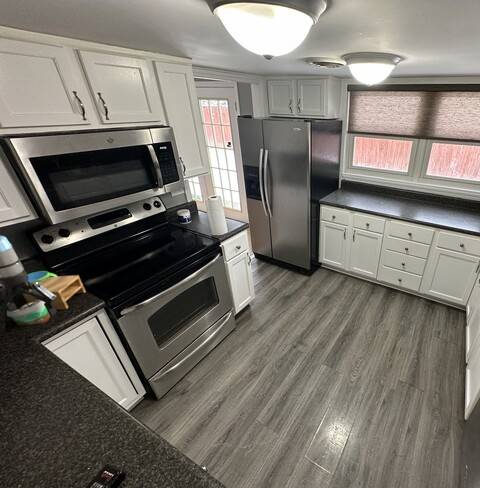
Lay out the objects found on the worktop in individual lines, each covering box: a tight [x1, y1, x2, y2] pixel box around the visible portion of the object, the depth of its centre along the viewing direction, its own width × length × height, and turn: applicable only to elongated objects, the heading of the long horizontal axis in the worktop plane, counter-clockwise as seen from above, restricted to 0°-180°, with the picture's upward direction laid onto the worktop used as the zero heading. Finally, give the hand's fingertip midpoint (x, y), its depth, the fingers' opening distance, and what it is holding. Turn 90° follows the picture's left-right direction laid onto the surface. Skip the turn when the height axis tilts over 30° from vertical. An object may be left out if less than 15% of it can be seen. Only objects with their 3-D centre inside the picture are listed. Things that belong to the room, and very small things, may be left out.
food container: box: [6, 299, 51, 326], centre depth 114 cm, size 12×6×10 cm, turn 160°
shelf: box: [22, 274, 87, 311], centre depth 127 cm, size 14×14×10 cm
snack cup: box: [27, 270, 58, 283], centre depth 132 cm, size 16×10×10 cm
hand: (35, 315), depth 114 cm, fingers open, 13 cm apart
